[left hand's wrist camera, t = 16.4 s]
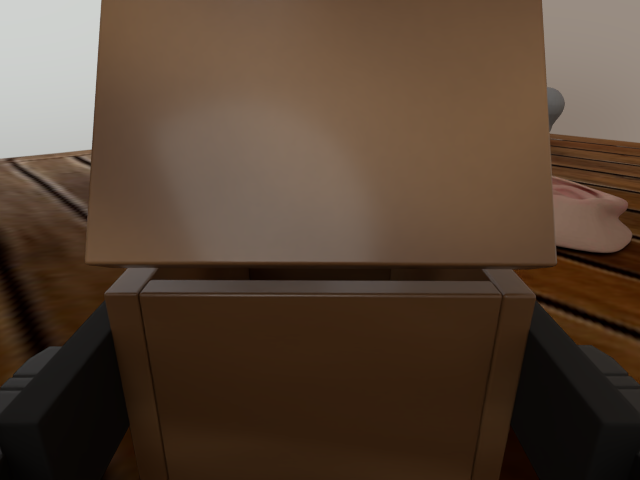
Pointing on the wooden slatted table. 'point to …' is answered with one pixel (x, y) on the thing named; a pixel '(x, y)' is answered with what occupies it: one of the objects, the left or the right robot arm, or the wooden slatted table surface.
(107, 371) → the left robot arm
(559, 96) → the light bulb
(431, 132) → the lid
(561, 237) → the anatomical model
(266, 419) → the chest
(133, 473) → the wooden slatted table surface
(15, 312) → the wooden slatted table surface
